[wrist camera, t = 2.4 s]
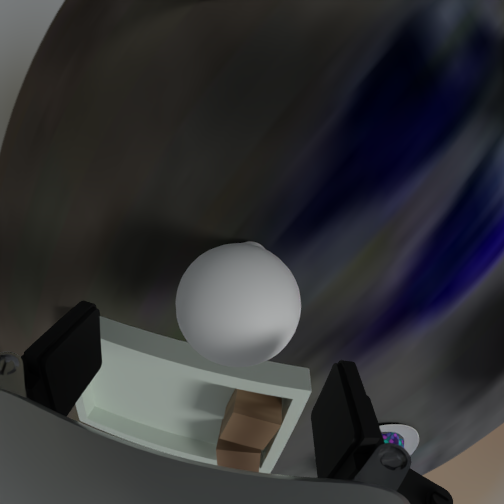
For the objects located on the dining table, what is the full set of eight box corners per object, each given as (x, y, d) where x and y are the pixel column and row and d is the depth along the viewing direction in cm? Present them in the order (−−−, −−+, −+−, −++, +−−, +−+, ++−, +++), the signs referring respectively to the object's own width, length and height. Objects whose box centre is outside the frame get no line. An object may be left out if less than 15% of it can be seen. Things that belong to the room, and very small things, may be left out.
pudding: (383, 405, 27) (394, 442, 22) (433, 436, 28) (445, 466, 23) (301, 458, 30) (302, 493, 25) (361, 481, 32) (366, 510, 27)
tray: (309, 368, 25) (311, 391, 23) (270, 454, 30) (269, 474, 27) (77, 307, 26) (60, 322, 23) (90, 404, 30) (79, 420, 27)
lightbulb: (301, 283, 23) (316, 381, 13) (223, 300, 24) (187, 398, 14) (282, 204, 21) (286, 253, 11) (199, 225, 22) (136, 286, 12)
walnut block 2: (263, 422, 27) (260, 453, 23) (261, 444, 28) (258, 474, 24) (222, 418, 27) (215, 449, 23) (223, 441, 28) (217, 470, 25)
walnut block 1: (281, 392, 26) (281, 425, 22) (265, 418, 27) (263, 449, 23) (239, 379, 25) (233, 411, 22) (225, 407, 27) (219, 438, 23)
